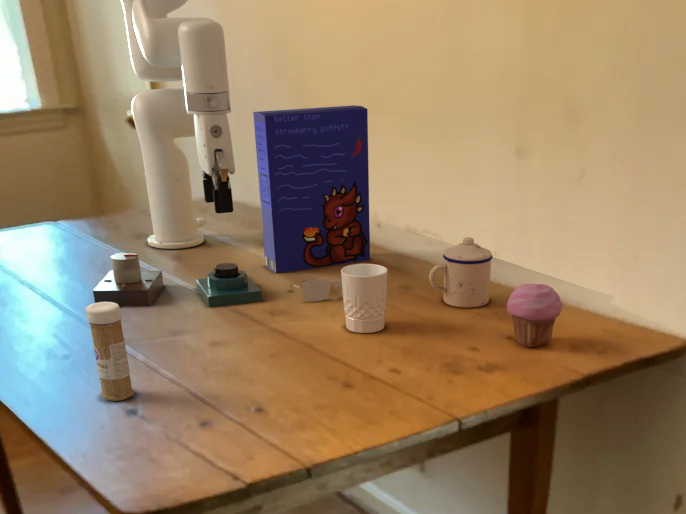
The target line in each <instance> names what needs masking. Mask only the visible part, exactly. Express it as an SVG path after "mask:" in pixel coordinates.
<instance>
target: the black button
mask: <svg viewBox="0 0 686 514" xmlns="http://www.w3.org/2000/svg"><path fill="white" fill-rule="evenodd" d="M213 267H214V271H215V277H217V278H234V277H237V276H239V273H238V270H239V265H238V264H236V263H233V262H232V263H231V262H224V263H218V264H215V265H214V266H213Z"/></svg>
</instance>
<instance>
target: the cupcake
mask: <svg viewBox="0 0 686 514" xmlns="http://www.w3.org/2000/svg"><path fill="white" fill-rule="evenodd" d="M562 310H563V301H562V300H561V297H560V295H559V293H558V291H556V290H555V289H554V288H553V287H552V286H550V285H548V284H545V283H529V282H528V283H523V284H520V285H518V286H516V287H515V288H514V290H513V291H512V292H511V293H510V296H509V297H508V301H507V302H506V311H507V313H508V314H509V315H510V316H511V319H512V324H513V331H514V335H515V340H516V341H517V342H518V343H519V344H521V345H522V346H523V347H526V348H534V347H538V346H544V345H548V344H549V343H550V342H551V340H552V335H553V329H554V325H555V322H556V319H557V318H558V317H559V316H560V315H561V312H562Z"/></svg>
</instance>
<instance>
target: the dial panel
mask: <svg viewBox="0 0 686 514" xmlns="http://www.w3.org/2000/svg"><path fill="white" fill-rule="evenodd" d="M140 271H141V277H142V280H141V281H139V282H136V283H130V284H120V283H116V282H115V280H114V274H113V270H110V271H109V272H108V273H107V274H106V275H105V276H104V278H102V280H100V282H99V283H98V284H97V286H96V287H95V288H94V289H92V294H93V299H94V303H98V302H113V303H116V304H118V305H119V307H151V305H152V304H153V302H154V301H155V300H156V298H157V297H158V295H159V293H160V292H161V291H162V289H163V287H164V286H165V285H164V279H163V271H162V270H140Z"/></svg>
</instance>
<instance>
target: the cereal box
mask: <svg viewBox="0 0 686 514" xmlns="http://www.w3.org/2000/svg"><path fill="white" fill-rule="evenodd" d="M252 114H253V124H254V125H253V126H254V138H255V139H254V140H255V152H256V164H257V177H258V190H259V201H260V213H261V214H260V215H261V227H262V240H263V252H264V266H265V267H266V268H267V269H269V270H270V271H272V272H273V273H274V274H282V273H289V272H296V271H302V270H309V269H317V268H325V267H332V266H338V265H344V264H345V265H346V264H352V263H359V262H367V261H370V260H371V238H370V237H371V232H370V230H371V229H370V227H371V226H370V186H369V185H370V183H369V182H370V178H369V175H370V173H369V172H370V171H369V124H368V121H369V119H368V116H369V115H368V114H369V113H368V108H367V107H365V106H362V105H356V104H355V105H353V104H352V105H338V106H324V107H323V106H322V107H321V106H320V107H308V108H306V107H305V108H292V109H291V108H290V109H277V110H276V109H275V110H262V111H261V110H260V111H252Z"/></svg>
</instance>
